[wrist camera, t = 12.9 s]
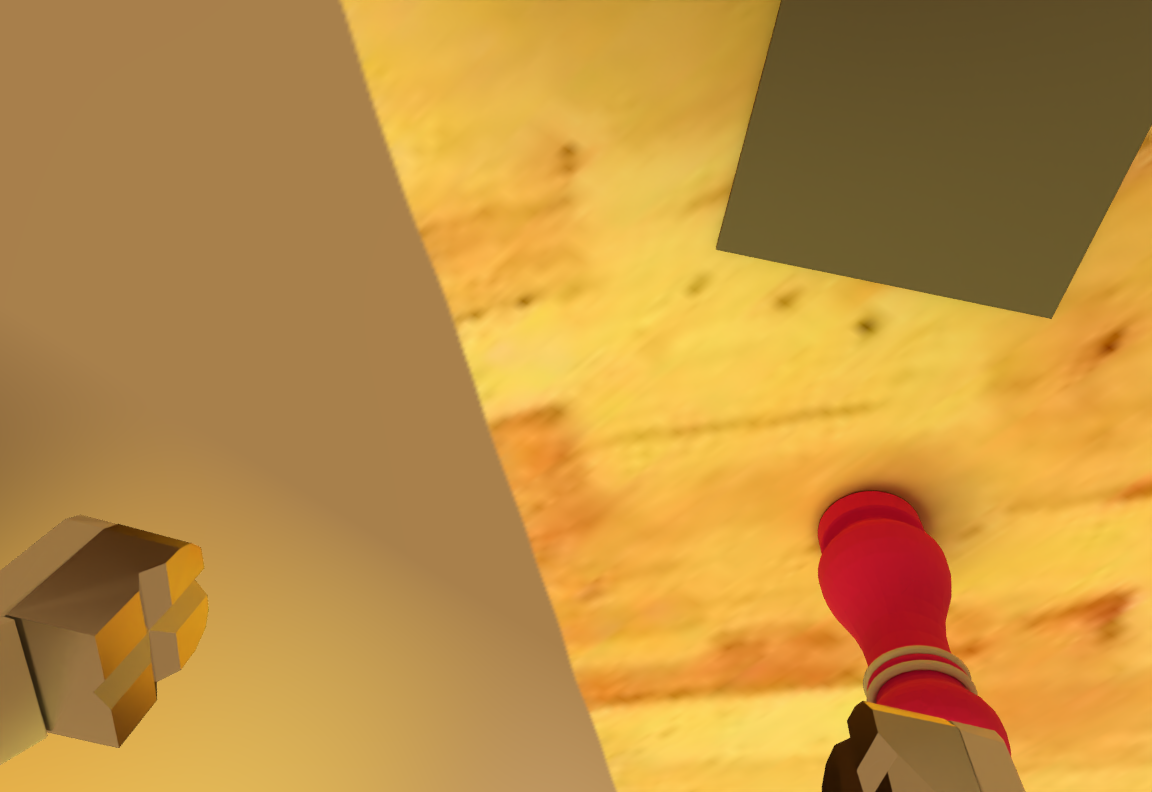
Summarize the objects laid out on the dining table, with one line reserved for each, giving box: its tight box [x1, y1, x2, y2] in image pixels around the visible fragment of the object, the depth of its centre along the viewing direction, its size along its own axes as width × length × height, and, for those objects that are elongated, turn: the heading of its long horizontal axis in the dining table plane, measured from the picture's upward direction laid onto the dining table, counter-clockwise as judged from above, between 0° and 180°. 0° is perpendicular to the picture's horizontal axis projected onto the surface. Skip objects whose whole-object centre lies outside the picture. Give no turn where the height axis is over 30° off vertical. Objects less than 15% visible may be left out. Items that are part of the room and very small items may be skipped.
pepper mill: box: [818, 491, 1011, 756], centre depth 39 cm, size 7×7×20 cm
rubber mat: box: [716, 0, 1152, 319], centre depth 36 cm, size 18×18×1 cm
